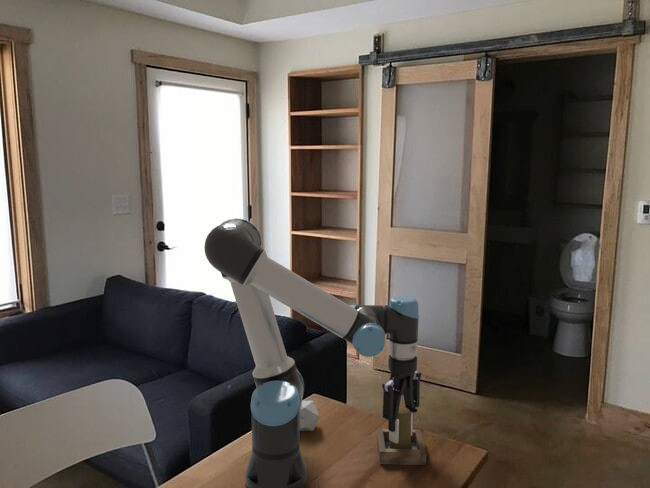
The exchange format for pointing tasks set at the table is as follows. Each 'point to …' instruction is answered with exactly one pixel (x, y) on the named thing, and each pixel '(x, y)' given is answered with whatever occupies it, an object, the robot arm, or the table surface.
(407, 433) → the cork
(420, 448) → the wooden tray
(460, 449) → the table surface
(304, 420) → the die
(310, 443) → the table surface
